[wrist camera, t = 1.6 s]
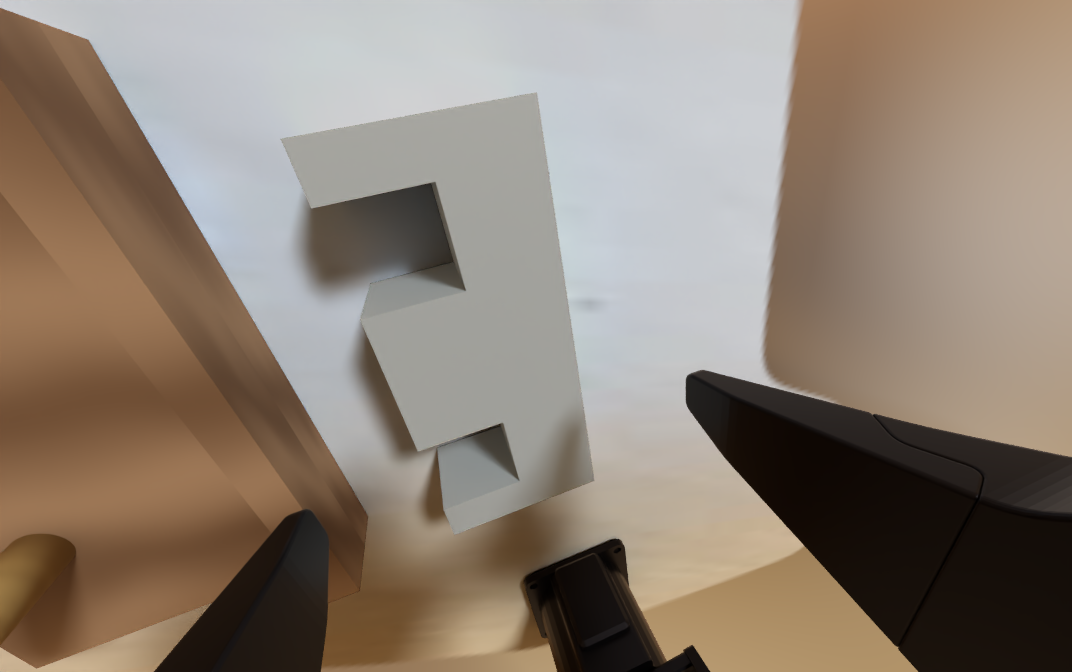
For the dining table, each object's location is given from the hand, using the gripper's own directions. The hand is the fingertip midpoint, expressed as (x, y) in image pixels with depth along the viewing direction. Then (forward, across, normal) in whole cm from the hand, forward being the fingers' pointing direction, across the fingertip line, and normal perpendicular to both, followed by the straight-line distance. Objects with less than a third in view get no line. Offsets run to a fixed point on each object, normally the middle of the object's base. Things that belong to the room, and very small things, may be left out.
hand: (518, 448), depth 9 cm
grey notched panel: (+8, 0, 0) cm, 8 cm away
